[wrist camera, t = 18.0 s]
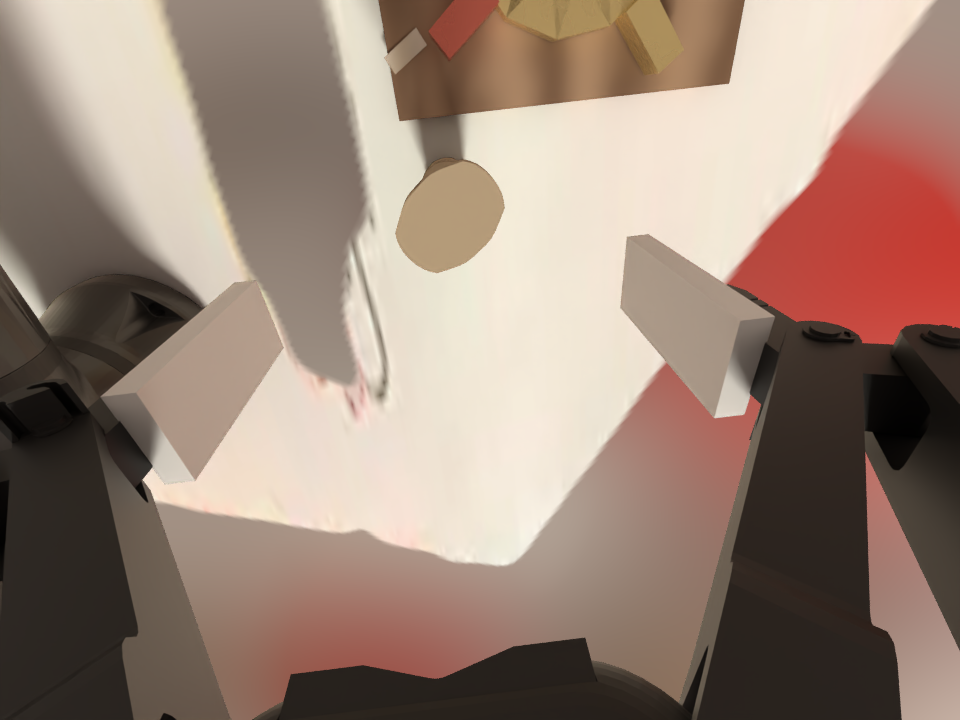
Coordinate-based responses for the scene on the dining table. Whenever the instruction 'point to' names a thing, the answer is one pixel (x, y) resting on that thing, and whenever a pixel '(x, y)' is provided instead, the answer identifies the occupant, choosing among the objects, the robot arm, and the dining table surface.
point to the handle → (449, 215)
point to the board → (545, 60)
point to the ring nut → (567, 24)
